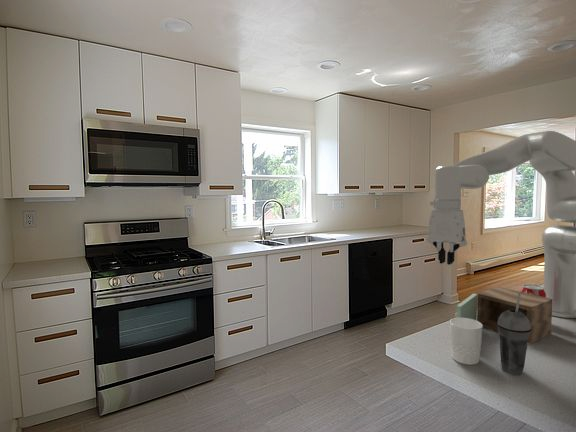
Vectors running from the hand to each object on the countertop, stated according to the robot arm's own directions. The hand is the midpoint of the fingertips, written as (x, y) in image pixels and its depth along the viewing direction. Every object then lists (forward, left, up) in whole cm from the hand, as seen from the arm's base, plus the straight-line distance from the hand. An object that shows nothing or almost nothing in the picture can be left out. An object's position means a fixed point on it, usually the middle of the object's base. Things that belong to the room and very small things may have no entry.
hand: (446, 263), depth 111 cm
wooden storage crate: (-19, +11, -22) cm, 31 cm away
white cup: (+12, +14, -22) cm, 29 cm away
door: (-4, +5, -22) cm, 22 cm away
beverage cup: (+8, +24, -22) cm, 34 cm away
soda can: (-31, +11, -22) cm, 40 cm away
